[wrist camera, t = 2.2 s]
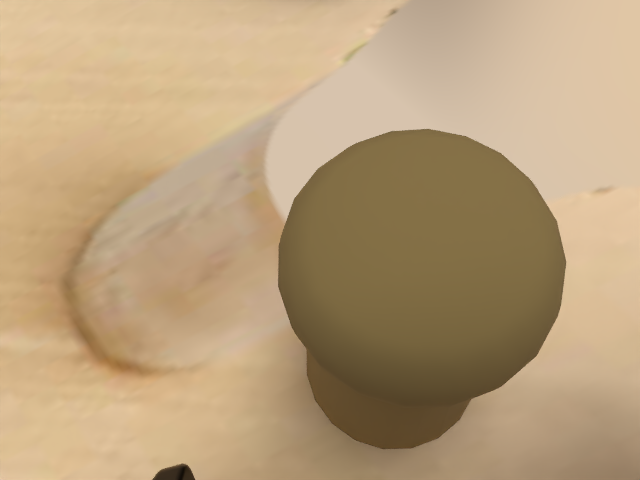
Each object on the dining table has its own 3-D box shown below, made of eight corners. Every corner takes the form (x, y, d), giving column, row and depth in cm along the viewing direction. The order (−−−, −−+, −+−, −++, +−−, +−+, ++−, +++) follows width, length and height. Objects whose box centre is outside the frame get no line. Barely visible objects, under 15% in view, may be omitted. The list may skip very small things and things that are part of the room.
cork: (359, 485, 17) (354, 516, 7) (277, 326, 19) (181, 168, 9) (513, 392, 17) (719, 292, 7) (416, 250, 20) (472, 28, 10)
